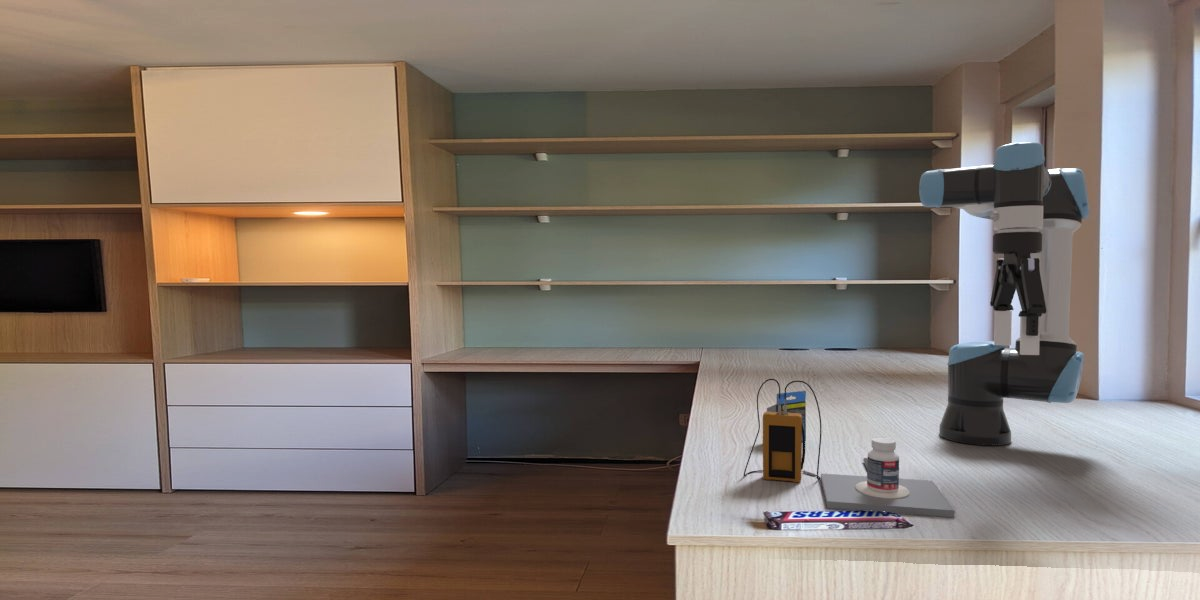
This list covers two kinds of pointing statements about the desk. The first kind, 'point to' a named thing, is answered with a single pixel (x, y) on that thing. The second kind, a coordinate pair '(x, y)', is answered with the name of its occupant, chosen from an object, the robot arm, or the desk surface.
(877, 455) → the pill bottle
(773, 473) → the multimeter
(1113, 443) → the desk surface
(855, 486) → the board
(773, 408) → the label tape cartridge
